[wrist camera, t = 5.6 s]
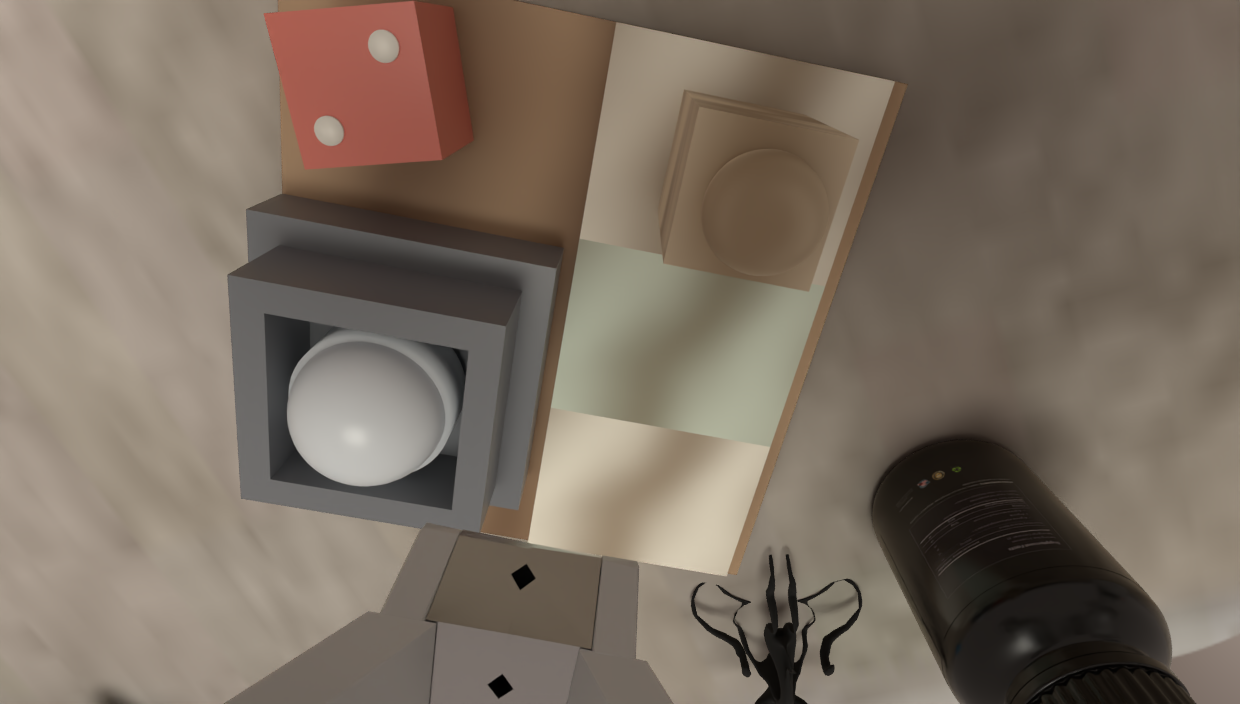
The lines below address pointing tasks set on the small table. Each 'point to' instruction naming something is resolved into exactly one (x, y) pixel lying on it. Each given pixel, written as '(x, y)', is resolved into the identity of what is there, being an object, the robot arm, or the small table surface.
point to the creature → (781, 643)
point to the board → (626, 270)
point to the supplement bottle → (1017, 586)
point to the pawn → (751, 190)
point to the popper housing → (398, 307)
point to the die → (372, 83)
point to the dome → (373, 405)
